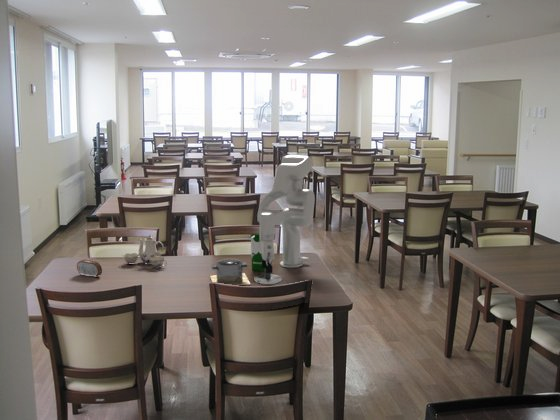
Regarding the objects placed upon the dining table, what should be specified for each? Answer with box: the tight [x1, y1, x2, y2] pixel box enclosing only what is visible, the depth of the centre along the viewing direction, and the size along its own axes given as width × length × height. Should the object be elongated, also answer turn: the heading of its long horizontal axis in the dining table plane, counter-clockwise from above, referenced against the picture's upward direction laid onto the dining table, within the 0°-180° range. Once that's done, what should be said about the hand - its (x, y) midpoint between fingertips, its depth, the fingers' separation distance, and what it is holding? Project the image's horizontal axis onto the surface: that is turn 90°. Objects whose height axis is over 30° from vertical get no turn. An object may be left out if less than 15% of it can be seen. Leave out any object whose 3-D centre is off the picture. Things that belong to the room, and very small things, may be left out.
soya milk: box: [250, 232, 265, 272], centre depth 311 cm, size 9×9×20 cm
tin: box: [76, 259, 103, 277], centre depth 302 cm, size 15×3×8 cm, turn 65°
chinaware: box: [122, 234, 168, 269], centre depth 322 cm, size 28×17×17 cm, turn 72°
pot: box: [209, 258, 251, 286], centre depth 291 cm, size 18×18×10 cm
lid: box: [253, 268, 283, 285], centre depth 293 cm, size 14×14×6 cm
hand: (267, 270), depth 292 cm, fingers open, 9 cm apart
